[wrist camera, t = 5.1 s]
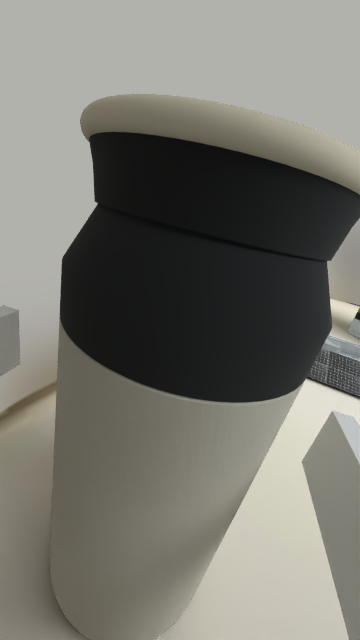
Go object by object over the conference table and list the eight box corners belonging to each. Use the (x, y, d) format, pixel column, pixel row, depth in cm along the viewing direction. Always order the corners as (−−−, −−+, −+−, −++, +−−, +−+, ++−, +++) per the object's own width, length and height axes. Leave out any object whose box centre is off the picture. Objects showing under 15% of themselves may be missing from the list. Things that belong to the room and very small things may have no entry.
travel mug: (222, 627, 11) (518, 198, 4) (25, 676, 9) (-7, -26, 2) (184, 463, 18) (276, 196, 11) (66, 469, 16) (90, 141, 9)
